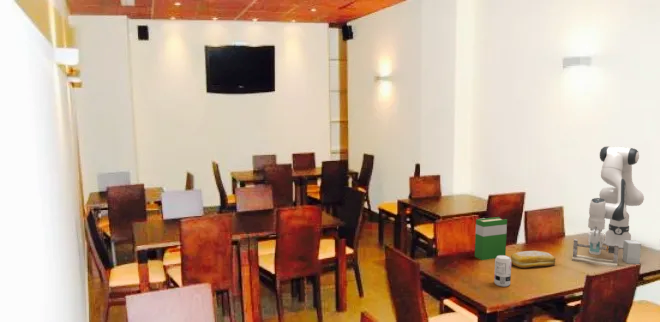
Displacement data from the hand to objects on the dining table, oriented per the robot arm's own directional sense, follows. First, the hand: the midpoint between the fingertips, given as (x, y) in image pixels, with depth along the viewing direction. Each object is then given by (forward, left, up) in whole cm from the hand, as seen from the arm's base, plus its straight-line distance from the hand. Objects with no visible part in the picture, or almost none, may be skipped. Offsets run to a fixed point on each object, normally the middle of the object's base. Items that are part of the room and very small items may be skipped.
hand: (594, 247), depth 307 cm
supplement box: (-11, +19, -9) cm, 24 cm away
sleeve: (0, 0, -2) cm, 2 cm away
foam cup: (-19, -1, -9) cm, 21 cm away
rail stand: (0, 0, -9) cm, 9 cm away
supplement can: (+67, -40, -9) cm, 78 cm away
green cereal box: (+23, -57, -9) cm, 62 cm away
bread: (+25, -31, -9) cm, 41 cm away
